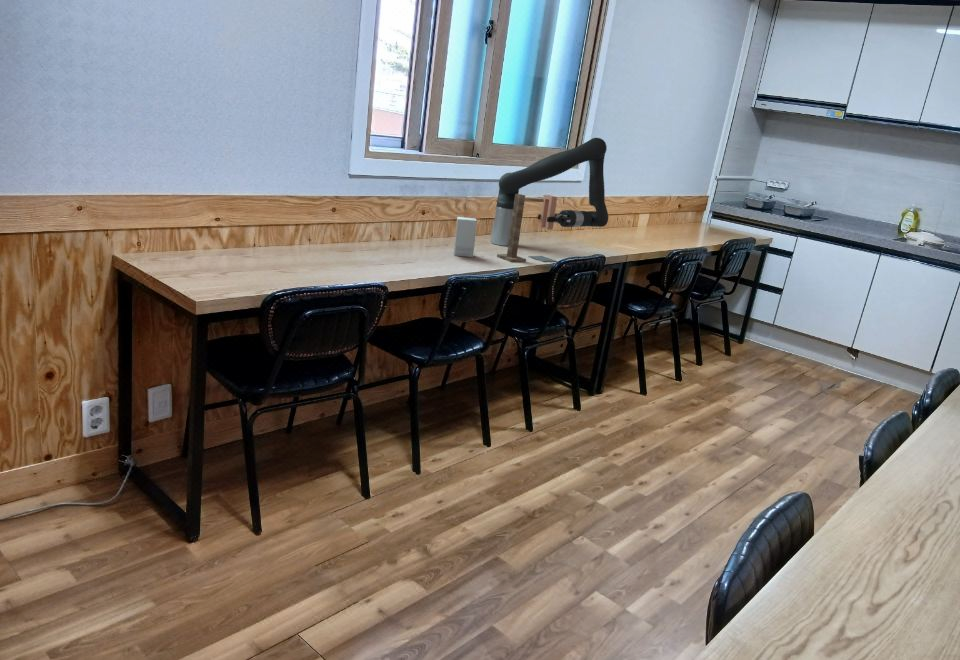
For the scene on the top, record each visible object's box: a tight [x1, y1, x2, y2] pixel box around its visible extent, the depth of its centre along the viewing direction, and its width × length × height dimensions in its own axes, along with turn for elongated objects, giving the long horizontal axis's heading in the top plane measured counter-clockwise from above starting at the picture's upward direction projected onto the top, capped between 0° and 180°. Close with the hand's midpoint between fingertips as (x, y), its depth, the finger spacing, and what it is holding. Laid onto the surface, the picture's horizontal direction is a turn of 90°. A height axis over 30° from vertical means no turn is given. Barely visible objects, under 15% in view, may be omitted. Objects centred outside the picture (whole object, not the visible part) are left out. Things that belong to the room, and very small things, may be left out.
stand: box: [496, 193, 544, 263], centre depth 315 cm, size 10×17×28 cm, turn 127°
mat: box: [527, 255, 558, 263], centre depth 326 cm, size 10×8×1 cm
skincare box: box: [453, 216, 478, 258], centre depth 310 cm, size 8×7×16 cm
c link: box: [538, 194, 558, 230], centre depth 321 cm, size 6×3×14 cm, turn 37°
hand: (542, 218), depth 320 cm, fingers closed on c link, 5 cm apart
